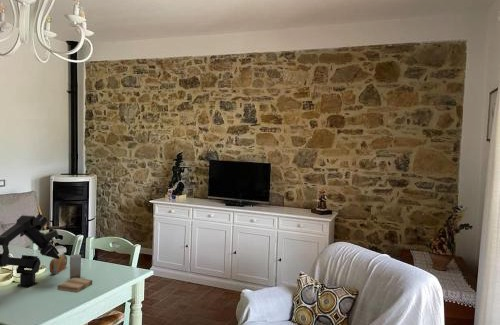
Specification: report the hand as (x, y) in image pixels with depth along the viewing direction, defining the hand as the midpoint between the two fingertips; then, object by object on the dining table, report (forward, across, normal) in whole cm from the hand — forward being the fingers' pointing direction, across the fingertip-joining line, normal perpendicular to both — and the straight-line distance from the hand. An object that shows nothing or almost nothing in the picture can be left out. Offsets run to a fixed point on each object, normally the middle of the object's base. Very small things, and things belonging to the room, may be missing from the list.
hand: (58, 256), depth 201 cm
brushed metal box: (+15, 0, +3) cm, 15 cm away
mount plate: (+15, -11, +4) cm, 19 cm away
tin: (+10, +16, +9) cm, 21 cm away
